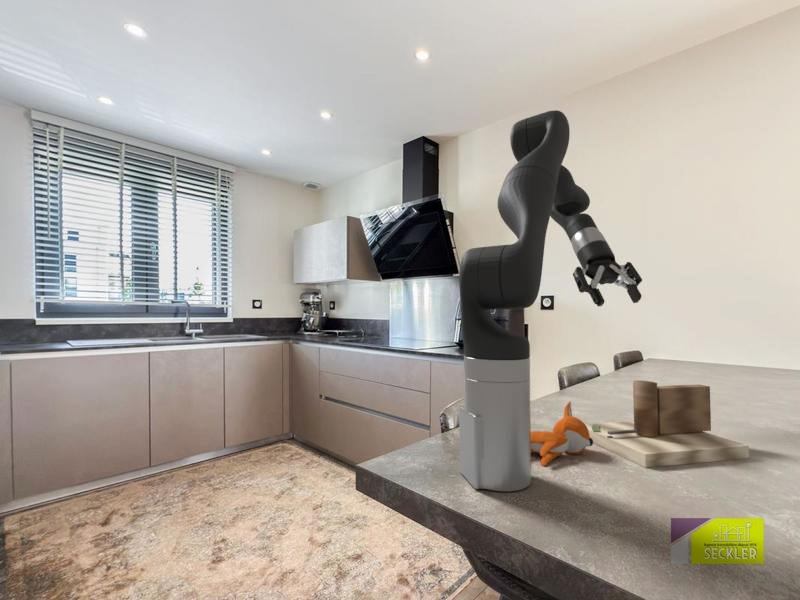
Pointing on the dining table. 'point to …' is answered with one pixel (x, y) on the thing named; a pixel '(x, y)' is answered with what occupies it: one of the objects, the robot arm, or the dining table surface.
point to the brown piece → (669, 409)
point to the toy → (561, 438)
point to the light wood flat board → (665, 446)
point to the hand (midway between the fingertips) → (619, 302)
